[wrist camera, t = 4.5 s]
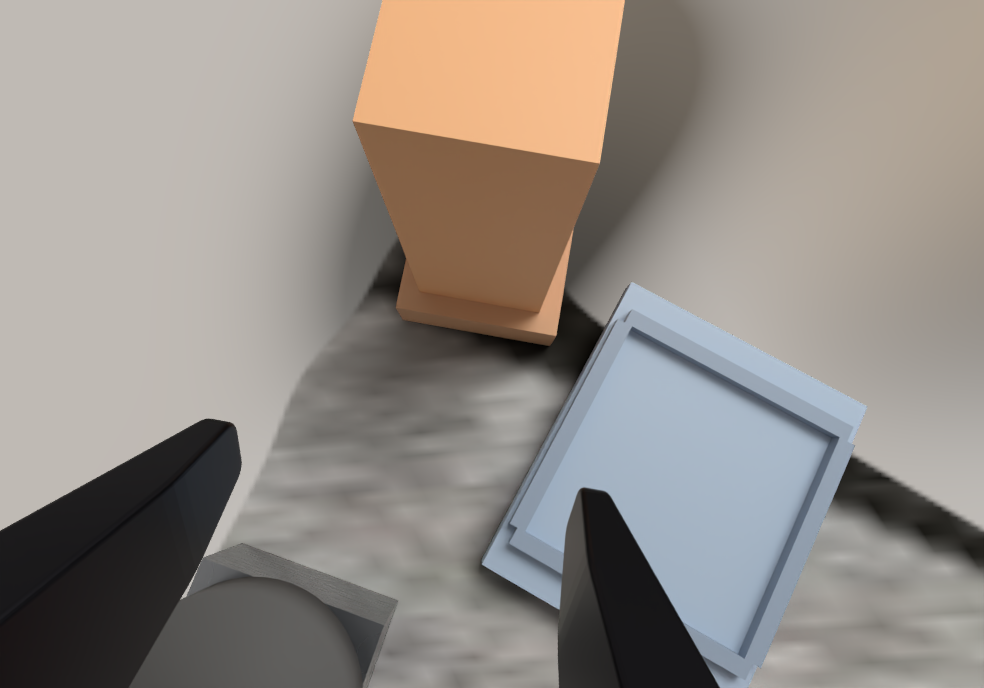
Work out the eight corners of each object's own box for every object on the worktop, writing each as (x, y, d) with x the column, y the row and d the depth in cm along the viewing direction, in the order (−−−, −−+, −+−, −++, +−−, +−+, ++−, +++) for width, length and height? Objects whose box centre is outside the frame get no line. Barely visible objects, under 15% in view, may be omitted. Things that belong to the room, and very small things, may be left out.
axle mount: (334, 780, 20) (307, 839, 17) (169, 717, 20) (115, 763, 17) (398, 600, 21) (384, 625, 18) (241, 543, 21) (202, 557, 18)
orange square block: (549, 346, 23) (635, 209, 10) (402, 319, 23) (301, 151, 10) (572, 208, 24) (674, -73, 11) (432, 184, 24) (374, -123, 11)
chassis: (724, 701, 20) (743, 720, 19) (481, 559, 21) (481, 567, 20) (850, 408, 22) (876, 405, 21) (625, 289, 23) (634, 278, 22)
